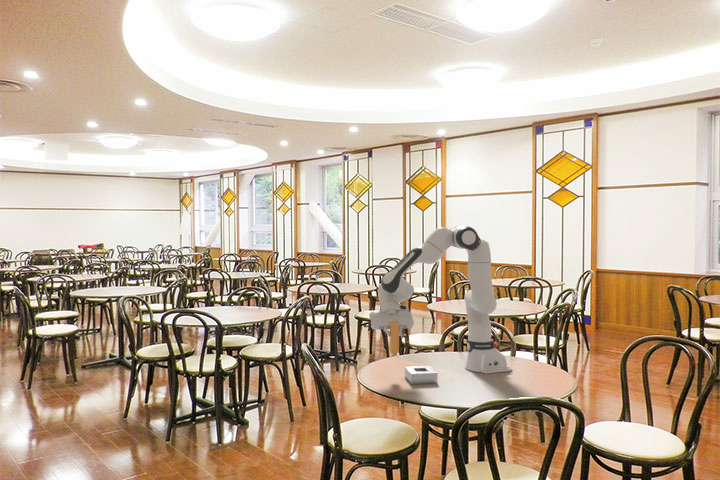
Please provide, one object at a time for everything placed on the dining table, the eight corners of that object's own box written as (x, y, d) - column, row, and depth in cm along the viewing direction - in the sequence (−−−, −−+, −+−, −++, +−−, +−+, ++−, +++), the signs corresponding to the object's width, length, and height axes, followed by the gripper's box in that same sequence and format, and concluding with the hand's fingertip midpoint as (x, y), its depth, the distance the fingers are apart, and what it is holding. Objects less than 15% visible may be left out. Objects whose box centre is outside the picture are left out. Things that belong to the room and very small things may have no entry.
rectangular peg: (397, 350, 247) (397, 321, 247) (398, 352, 244) (398, 322, 243) (389, 351, 247) (389, 321, 246) (391, 353, 243) (391, 323, 243)
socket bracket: (429, 375, 247) (429, 365, 247) (437, 383, 235) (437, 372, 235) (404, 376, 245) (404, 366, 245) (411, 384, 234) (411, 374, 233)
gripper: (369, 308, 250) (373, 332, 241) (411, 306, 253) (416, 330, 244) (368, 315, 255) (371, 340, 245) (409, 314, 258) (414, 338, 248)
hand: (394, 335), depth 244 cm, fingers closed on rectangular peg, 3 cm apart
